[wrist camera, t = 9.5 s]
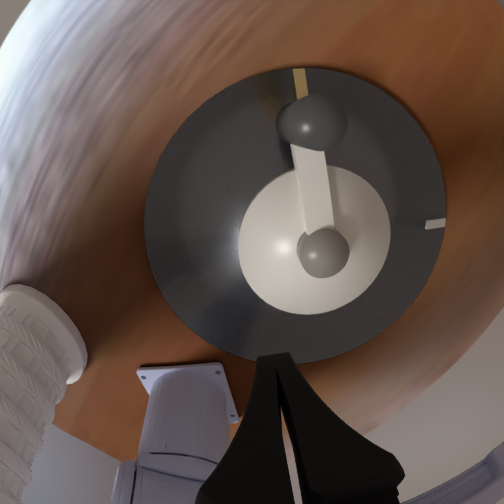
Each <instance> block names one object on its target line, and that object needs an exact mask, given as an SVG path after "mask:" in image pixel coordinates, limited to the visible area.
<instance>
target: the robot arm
mask: <svg viewBox="0 0 504 504" xmlns="http://www.w3.org/2000/svg"><path fill="white" fill-rule="evenodd" d="M256 361H257V364H256V373H255V379H254V384H253V388H252V392H251V396H250V399H249V402H248V405H247V408H246V411H245V414H244V416H243V419H242V421H241V424H240V426H239V428H238V430H237V432H236V434H235V436H234V438H233V440H232V442H231V444H230V423H237V422H239V417H238V413H237V410H236V407H235V404H234V401H233V398H232V394H231V391H230V388H229V385H228V381H227V378H226V375H225V371H224V368H223V365H222V364H221V363H219V362H214V363H203V364H192V365H179V366H163V367H141V368H138V369H137V375H138V377H139V378H140V380H141V382H142V384H143V385H144V387H145V389H146V391H147V392H148V394H149V396H150V397H149V401H148V406H147V410H146V415H145V420H144V425H143V429H142V434H141V439H140V445H139V450H138V455H137V458H136V461H135V462H134V461H132V460H128V459H127V460H126V461H125V462H122V463H120V464H119V466H118V469H117V473H116V478H115V482H114V486H113V491H112V496H111V502H110V504H295V502H294V496H293V492H292V486H291V481H290V475H289V470H288V464H287V459H286V453H285V448H284V442H283V436H282V422H281V409H282V412H283V416H284V419H285V423H286V426H287V430H288V433H289V437H290V440H291V444H292V447H293V452H294V457H295V462H296V468H297V473H298V479H299V485H300V490H301V497H302V503H303V504H496V503H497V502H498V501H500V500H501V499H502V498H503V497H504V442H503V443H501V444H500V445H499V446H497V447H496V448H495V449H494V450H492V451H491V452H490V453H489V454H488V455H487V456H486V457H485V459H483V460H482V461H480V462H479V463H477V464H475V465H474V466H472V467H471V468H469V469H467V470H466V471H464V472H462V473H461V474H459V475H457V476H456V477H454V478H452V479H450V480H448V481H447V482H445V483H443V484H441V485H439V486H437V487H435V488H433V489H431V490H429V491H427V492H425V493H423V494H421V495H419V496H416V497H414V498H412V499H410V500H407V501H405V502H403V503H399V500H398V497H397V496H398V495H399V492H398V490H397V486H398V485H399V484H400V483H401V481H402V480H403V479H404V477H405V474H404V470H403V468H402V467H401V465H400V463H399V462H398V460H397V459H396V457H395V456H394V455H393V454H392V453H390V452H388V451H386V450H384V449H382V448H380V447H379V446H377V445H375V444H373V443H372V442H371V441H369V440H368V439H366V438H364V437H363V436H362V435H360V434H359V433H358V432H356V431H355V430H354V429H352V428H351V427H350V426H348V425H347V424H346V423H345V422H344V421H343V420H341V419H340V418H339V417H338V416H337V415H336V414H335V413H334V412H333V411H332V410H331V409H330V408H329V407H328V406H327V405H326V404H325V403H324V402H323V401H322V400H321V398H320V397H319V396H318V395H317V394H316V393H315V391H314V390H313V389H312V388H311V386H310V385H309V384H308V382H307V381H306V380H305V378H304V377H303V375H302V374H301V372H300V371H299V369H298V367H297V366H296V364H295V362H294V360H293V358H292V356H291V354H290V353H289V352H284V353H278V354H272V355H265V356H259V357H258V358H257V359H256ZM217 371H219V372H217ZM280 405H281V406H280Z"/></svg>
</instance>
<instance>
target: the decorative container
mask: <svg viewBox="0 0 504 504" xmlns="http://www.w3.org/2000/svg"><path fill="white" fill-rule="evenodd" d="M87 356H88V354H87V350H86V346H85V342H84V340H83V338H82V336H81V334H80V332H79V330H78V328H77V327H76V326H75V324H74V323H73V321H72V320H71V318H70V317H69V316H68V315H67V314H66V313H65V312H64V311H63V309H62V308H61V307H60V306H59V305H58V304H57V303H55V302H54V301H53V300H52V299H50V298H49V297H48V296H47V295H45V294H44V293H42V292H40V291H38V290H36V289H34V288H33V287H30V286H26V285H22V284H14V285H9V286H8V287H6V288H4V289H3V290H2V291H1V292H0V504H22V503H21V502H20V501H21V500H20V499H21V496H22V493H23V489H24V487H25V486H27V485H28V484H29V483H30V481H31V478H32V476H31V473H32V470H31V469H30V468H31V465H32V462H33V459H34V457H36V456H37V455H38V454H39V453H40V452H41V450H42V442H43V439H42V436H43V433H44V431H45V429H47V428H48V427H49V426H50V425H51V424H52V422H53V419H54V413H55V410H54V408H55V405H56V404H57V403H59V402H60V400H61V399H62V398H63V397H64V395H65V392H66V387H67V384H72V383H74V382H76V381H77V380H79V378H80V377H81V375H82V373H83V371H84V369H85V367H86V365H87Z"/></svg>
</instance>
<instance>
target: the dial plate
mask: <svg viewBox="0 0 504 504" xmlns="http://www.w3.org/2000/svg"><path fill="white" fill-rule="evenodd" d="M310 94H325V95H328V96H330V97H332V98H334V99H335V100H336V101H338V102H339V103H340V105H341V106H342V107H343V109H344V111H345V113H346V115H347V120H348V128H347V133H346V135H345V137H344V139H343V141H342V142H341V143H340V144H339V145H338V146H336V147H335V148H333V149H331V150H327V151H324V154H325V160H326V164H327V165H332V166H337V167H340V168H343V169H345V170H348V171H350V172H352V173H354V174H356V175H358V176H360V177H361V178H363V179H364V180H365V181H367V182H368V183H369V184H370V185H371V186H372V187H373V188H374V189H375V190H376V192H377V193H378V194H379V196H380V197H381V199H382V201H383V203H384V205H385V207H386V210H387V213H388V217H389V221H390V244H389V250H388V253H387V257H386V260H385V262H384V264H383V267H382V268H381V270H380V272H379V274H378V275H377V277H376V278H375V280H374V281H373V282H372V283H371V285H370V286H369V287H368V288H367V289H366V290H365V291H364V292H363V293H362V294H360V295H359V296H358V297H357V298H355V299H354V300H352V301H351V302H349V303H347V304H346V305H344V306H342V307H339V308H337V309H335V310H331V311H328V312H324V313H319V314H309V315H308V314H295V313H289V312H286V311H282V310H280V309H277V308H275V307H273V306H271V305H270V304H268V303H266V302H265V301H264V300H263V299H261V298H260V297H259V296H258V295H257V294H256V293H255V292H254V291H253V290H252V288H251V287H250V285H249V284H248V282H247V280H246V278H245V277H244V275H243V272H242V269H241V266H240V260H239V253H238V234H239V227H240V223H241V220H242V217H243V215H244V212H245V210H246V208H247V206H248V204H249V203H250V201H251V199H252V198H253V197H254V196H255V194H256V193H257V192H258V191H259V190H260V189H261V188H262V187H263V186H264V185H265V184H266V183H267V182H268V181H270V180H271V179H272V178H274V177H275V176H277V175H279V174H281V173H282V172H284V171H287V170H289V169H292V168H294V161H293V156H292V150H291V145H290V144H288V143H287V142H285V141H284V140H283V139H282V138H281V137H280V136H279V134H278V132H277V129H276V117H277V115H278V113H279V111H280V110H281V109H282V108H283V107H284V106H285V105H287V104H289V103H291V102H294V101H296V100H298V99H300V98H302V97H305V96H307V95H310ZM445 223H446V197H445V186H444V181H443V177H442V172H441V168H440V165H439V163H438V160H437V157H436V154H435V152H434V150H433V148H432V146H431V144H430V142H429V140H428V138H427V136H426V134H425V133H424V131H423V130H422V129H421V127H420V126H419V124H418V123H417V122H416V120H415V119H414V118H413V117H412V116H411V115H410V114H409V113H408V111H407V110H406V109H405V108H404V107H403V106H402V105H401V104H400V103H398V102H397V101H396V100H395V99H393V98H392V97H391V96H389V95H388V94H387V93H385V92H384V91H382V90H381V89H379V88H377V87H375V86H374V85H372V84H370V83H368V82H366V81H364V80H362V79H359V78H356V77H354V76H351V75H348V74H345V73H341V72H337V71H332V70H326V69H320V68H289V69H280V70H273V71H269V72H266V73H262V74H258V75H255V76H252V77H249V78H246V79H244V80H242V81H240V82H238V83H235V84H233V85H231V86H229V87H227V88H225V89H224V90H222V91H221V92H219V93H218V94H216V95H215V96H213V97H212V98H210V99H209V100H207V101H206V102H205V103H203V104H202V105H201V106H200V107H199V108H198V109H197V110H196V111H195V112H193V113H192V114H191V115H190V116H189V117H188V118H187V119H186V120H185V122H184V123H183V124H182V125H181V126H180V128H179V129H178V130H177V131H176V133H175V134H174V135H173V136H172V138H171V140H170V141H169V143H168V145H167V146H166V148H165V150H164V151H163V153H162V155H161V157H160V158H159V161H158V163H157V166H156V168H155V171H154V173H153V176H152V178H151V181H150V185H149V190H148V194H147V198H146V203H145V215H144V235H145V247H146V251H147V256H148V261H149V265H150V268H151V271H152V273H153V276H154V279H155V281H156V284H157V286H158V288H159V289H160V291H161V293H162V295H163V297H164V298H165V300H166V302H167V303H168V304H169V306H170V307H171V309H172V310H173V311H174V312H175V314H176V315H177V316H178V317H179V318H180V319H181V320H182V321H183V322H184V323H185V324H186V325H187V326H188V327H189V328H190V329H191V330H192V331H193V332H195V333H196V334H197V335H198V336H200V337H201V338H202V339H204V340H205V341H207V342H209V343H210V344H212V345H214V346H215V347H217V348H219V349H221V350H223V351H226V352H228V353H230V354H233V355H235V356H238V357H242V358H245V359H248V360H252V361H256V359H257V358H258V357H259V356H265V355H272V354H278V353H284V352H289V353H290V354H291V356H292V358H293V360H294V362H295V364H302V363H309V362H315V361H320V360H324V359H328V358H332V357H335V356H338V355H340V354H343V353H346V352H348V351H351V350H353V349H355V348H357V347H359V346H361V345H363V344H365V343H366V342H368V341H370V340H371V339H373V338H374V337H376V336H377V335H379V334H380V333H382V332H383V331H384V330H385V329H387V328H388V327H389V326H390V325H392V324H393V323H394V322H395V321H396V320H397V319H398V318H399V317H400V316H401V315H402V314H403V313H404V312H405V311H406V310H407V309H408V307H409V306H410V305H411V304H412V303H413V301H414V300H415V299H416V297H417V296H418V294H419V293H420V292H421V290H422V289H423V287H424V285H425V284H426V282H427V280H428V278H429V276H430V274H431V272H432V270H433V268H434V265H435V263H436V260H437V258H438V255H439V251H440V248H441V244H442V240H443V235H444V229H445Z"/></svg>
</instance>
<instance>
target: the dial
mask: <svg viewBox="0 0 504 504" xmlns="http://www.w3.org/2000/svg"><path fill="white" fill-rule="evenodd" d="M347 128H348V120H347V115H346V113H345V111H344V109H343V107H342V106H341V105H340V103H339V102H338V101H336V100H335V99H334V98H332V97H330V96H328V95H325V94H310V95H307V96H305V97H302V98H300V99H298V100H296V101H294V102H291V103H289V104H287V105H285V106H284V107H283V108H282V109H281V110H280V111H279V113H278V115H277V117H276V129H277V132H278V134H279V136H280V137H281V138H282V139H283V140H284V141H285V142H287V143H288V144H290V145H291V150H292V156H293V161H294V168H292V169H289V170H287V171H284V172H282V173H281V174H279V175H277V176H275V177H274V178H272V179H271V180H270V181H268V182H267V183H266V184H265V185H264V186H263V187H262V188H261V189H260V190H259V191H258V192H257V193H256V194H255V196H254V197H253V198H252V199H251V201H250V203H249V204H248V206H247V208H246V210H245V212H244V215H243V217H242V220H241V223H240V227H239V234H238V253H239V260H240V266H241V269H242V272H243V275H244V277H245V278H246V280H247V282H248V284H249V285H250V287H251V288H252V290H253V291H254V292H255V293H256V294H257V295H258V296H259V297H260V298H261V299H263V300H264V301H265V302H266V303H268V304H270V305H271V306H273V307H275V308H277V309H280V310H282V311H286V312H289V313H295V314H308V315H309V314H319V313H324V312H328V311H331V310H335V309H337V308H339V307H342V306H344V305H346V304H347V303H349V302H351V301H352V300H354V299H355V298H357V297H358V296H359V295H360V294H362V293H363V292H364V291H365V290H366V289H367V288H368V287H369V286H370V285H371V283H372V282H373V281H374V280H375V278H376V277H377V275H378V274H379V272H380V270H381V268H382V267H383V264H384V262H385V260H386V257H387V253H388V250H389V244H390V221H389V217H388V213H387V210H386V207H385V205H384V203H383V201H382V199H381V197H380V196H379V194H378V193H377V192H376V190H375V189H374V188H373V187H372V186H371V185H370V184H369V183H368V182H367V181H365V180H364V179H363V178H361V177H360V176H358V175H356V174H354V173H352V172H350V171H348V170H345V169H343V168H340V167H337V166H332V165H327V164H326V160H325V154H324V151H327V150H331V149H333V148H335V147H336V146H338V145H339V144H340V143H341V142H342V141H343V139H344V137H345V135H346V133H347Z"/></svg>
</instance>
